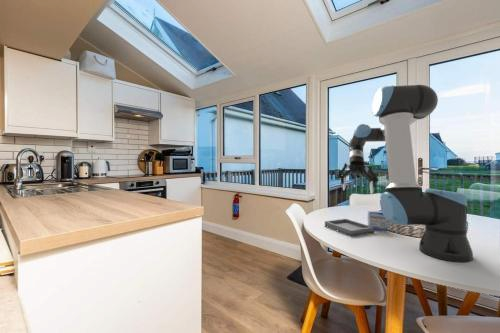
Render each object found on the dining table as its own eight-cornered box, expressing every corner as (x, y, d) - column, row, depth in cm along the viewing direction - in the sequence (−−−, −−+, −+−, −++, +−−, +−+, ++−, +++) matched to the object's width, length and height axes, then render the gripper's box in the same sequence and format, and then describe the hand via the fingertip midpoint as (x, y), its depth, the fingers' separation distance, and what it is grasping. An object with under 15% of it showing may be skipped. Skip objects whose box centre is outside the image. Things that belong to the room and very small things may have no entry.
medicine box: (369, 229, 117) (369, 212, 117) (367, 227, 122) (367, 210, 121) (387, 230, 115) (387, 212, 115) (384, 228, 119) (384, 211, 119)
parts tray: (374, 232, 112) (374, 227, 112) (351, 236, 107) (351, 230, 107) (345, 223, 129) (345, 218, 129) (324, 226, 124) (324, 221, 124)
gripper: (377, 166, 136) (381, 198, 124) (332, 160, 141) (331, 191, 129) (382, 158, 130) (386, 190, 118) (335, 152, 136) (334, 183, 123)
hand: (357, 190), depth 124 cm, fingers open, 13 cm apart
